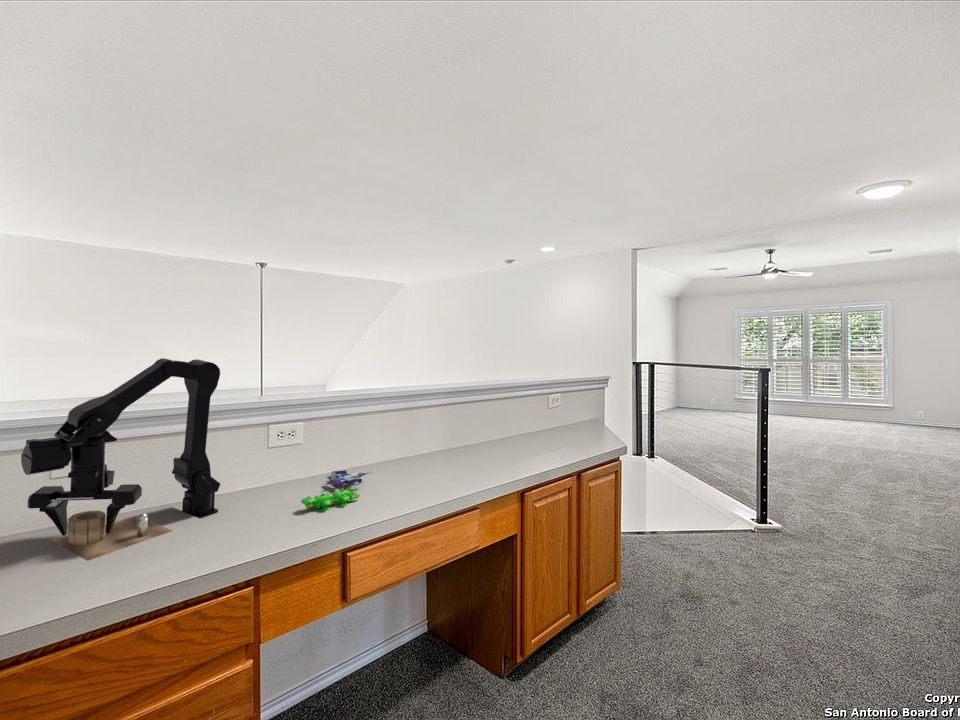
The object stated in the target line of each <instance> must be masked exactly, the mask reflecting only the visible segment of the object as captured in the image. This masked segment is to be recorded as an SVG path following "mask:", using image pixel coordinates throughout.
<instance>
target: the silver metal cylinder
mask: <svg viewBox="0 0 960 720" xmlns="http://www.w3.org/2000/svg"><path fill="white" fill-rule="evenodd" d="M148 520H149V515H148V514H147V513H146V512H145V513H144V512H142V513H140V514H138V517H137V536H138V537H143V536H146V535H147V534H148Z"/></svg>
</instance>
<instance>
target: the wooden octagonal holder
mask: <svg viewBox="0 0 960 720" xmlns="http://www.w3.org/2000/svg"><path fill="white" fill-rule="evenodd" d="M106 515H107V513H106V512H104V511H101V510H87V511H81V512H77V513H75V514H72V515H71V516H70V517H69V518H67V524H68V529H67V536H68V543H70V544H72V545H87V544H91V543H94V542H97V541H100V540H102V538H103V537H104V536H105V525H106Z"/></svg>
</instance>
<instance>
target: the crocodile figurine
mask: <svg viewBox="0 0 960 720" xmlns="http://www.w3.org/2000/svg"><path fill="white" fill-rule="evenodd" d="M359 490H360V489H359V488H358V487H352V486H349V487H347V488H346V489H345V488H344V489H340V490H338V491H333V492H332V493H331V492H330V493H328V492H327V493H324V492H321V493H320V495H314V496H310V495H308V496H307V497H305V498H302V499H301V501H300V503H301V504H304V506H305V510H306V511H308V510H309V509H311V508H312V507H315V509H320V508H321V509H320V510H321V511H324V512H326V511H328V510H330V509H331V507H329V506H333V505H334V504H339V506H340V507H346V506H347V505H348V503H347V502H349V501H351V502H352V501H354V500H355V499H357V498H360V496H361V494H359V493H358V492H357V491H359Z"/></svg>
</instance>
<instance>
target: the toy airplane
mask: <svg viewBox="0 0 960 720" xmlns="http://www.w3.org/2000/svg"><path fill="white" fill-rule="evenodd" d="M371 473H373V471H371V472H370V474H371ZM368 474H369V472H363V471H358V472H356V473H353V474H351V473H348V471H347V470H335V471H331V474H330V476H326V478H327V479H328V480H329V481H330V482H332V483H334V486H338V485H341V484H342V485H341V487H340V488H341V489H340V490H342V489H343V490H344V489H345V486H344V484H346V485H352V486H359V485H360V483H362V481H363V479H362V478H361V477H363V476H365V475H368Z"/></svg>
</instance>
